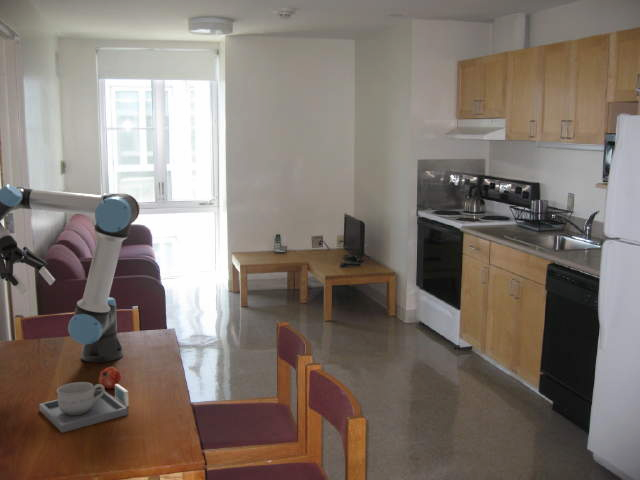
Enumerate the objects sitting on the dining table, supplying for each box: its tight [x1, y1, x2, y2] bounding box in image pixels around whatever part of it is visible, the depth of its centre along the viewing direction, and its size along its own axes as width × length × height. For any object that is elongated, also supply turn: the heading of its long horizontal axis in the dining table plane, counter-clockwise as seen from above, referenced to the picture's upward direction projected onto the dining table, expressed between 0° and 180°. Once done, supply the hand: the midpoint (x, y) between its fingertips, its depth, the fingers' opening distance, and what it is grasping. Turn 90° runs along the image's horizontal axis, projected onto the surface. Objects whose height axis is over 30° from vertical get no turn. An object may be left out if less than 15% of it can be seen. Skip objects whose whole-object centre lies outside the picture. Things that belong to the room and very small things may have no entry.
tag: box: [114, 383, 130, 408], centre depth 221 cm, size 1×8×5 cm, turn 39°
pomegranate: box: [98, 366, 122, 390], centre depth 234 cm, size 7×7×10 cm
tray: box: [38, 388, 129, 433], centre depth 214 cm, size 20×20×2 cm
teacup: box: [56, 381, 106, 415], centre depth 213 cm, size 14×11×8 cm
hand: (39, 287), depth 239 cm, fingers open, 13 cm apart
